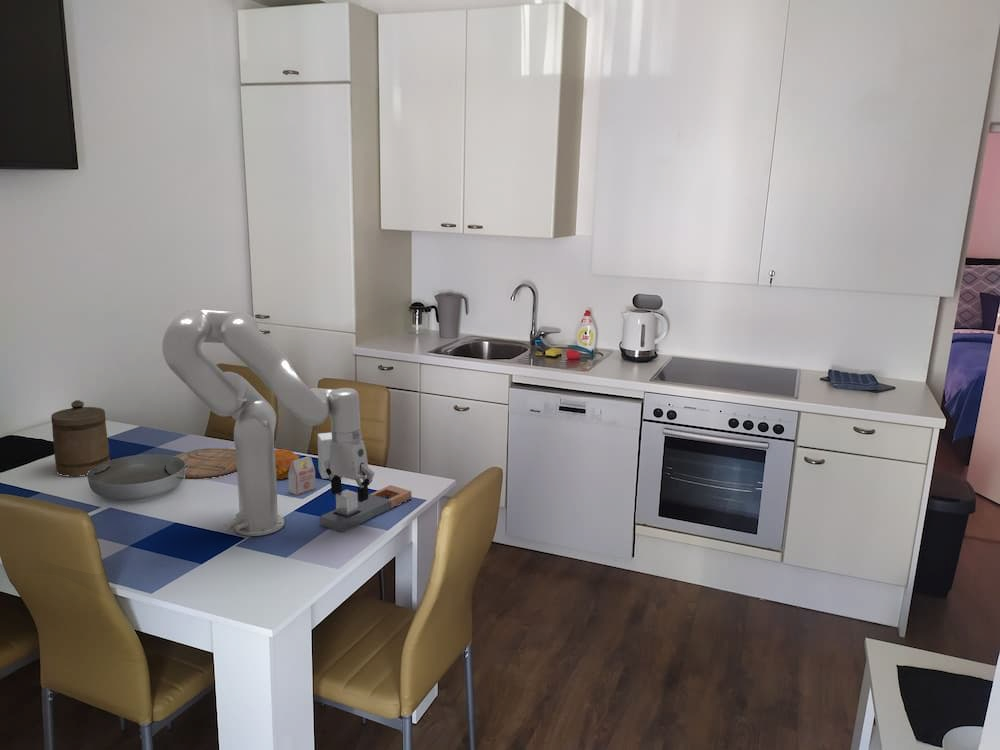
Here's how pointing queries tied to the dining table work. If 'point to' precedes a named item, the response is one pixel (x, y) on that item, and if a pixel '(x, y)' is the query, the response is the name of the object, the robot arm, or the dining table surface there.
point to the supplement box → (323, 452)
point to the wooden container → (79, 439)
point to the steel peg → (346, 503)
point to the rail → (367, 508)
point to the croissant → (283, 462)
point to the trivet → (209, 462)
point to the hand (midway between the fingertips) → (349, 496)
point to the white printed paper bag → (301, 476)
